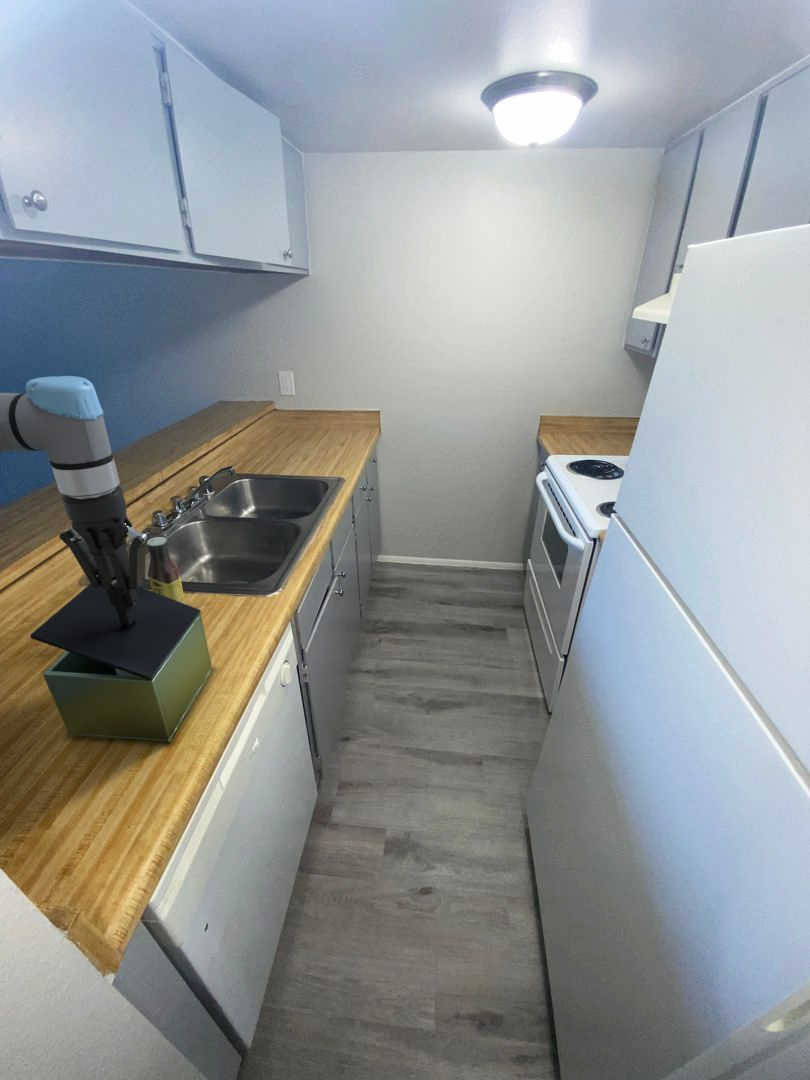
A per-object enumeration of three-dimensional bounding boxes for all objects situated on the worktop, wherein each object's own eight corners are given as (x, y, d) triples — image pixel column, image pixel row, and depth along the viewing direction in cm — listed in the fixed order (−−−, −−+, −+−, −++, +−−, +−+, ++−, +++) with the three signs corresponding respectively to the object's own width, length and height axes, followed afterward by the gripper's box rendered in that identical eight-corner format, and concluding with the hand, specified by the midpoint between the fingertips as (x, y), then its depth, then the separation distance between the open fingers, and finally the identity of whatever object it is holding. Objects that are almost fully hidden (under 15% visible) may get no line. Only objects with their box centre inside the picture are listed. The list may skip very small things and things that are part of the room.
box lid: (29, 638, 71) (30, 634, 70) (102, 575, 86) (103, 572, 86) (150, 681, 73) (151, 677, 73) (200, 613, 89) (201, 610, 89)
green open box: (69, 736, 81) (42, 674, 74) (128, 664, 96) (110, 607, 90) (170, 743, 80) (152, 681, 73) (212, 670, 96) (201, 613, 89)
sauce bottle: (154, 612, 112) (135, 538, 102) (181, 602, 115) (165, 530, 106) (163, 626, 107) (144, 550, 98) (191, 615, 111) (175, 541, 102)
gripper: (149, 482, 71) (178, 609, 82) (65, 478, 72) (105, 604, 83) (120, 502, 65) (156, 637, 76) (28, 497, 65) (77, 631, 76)
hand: (129, 620), depth 79 cm, fingers closed
